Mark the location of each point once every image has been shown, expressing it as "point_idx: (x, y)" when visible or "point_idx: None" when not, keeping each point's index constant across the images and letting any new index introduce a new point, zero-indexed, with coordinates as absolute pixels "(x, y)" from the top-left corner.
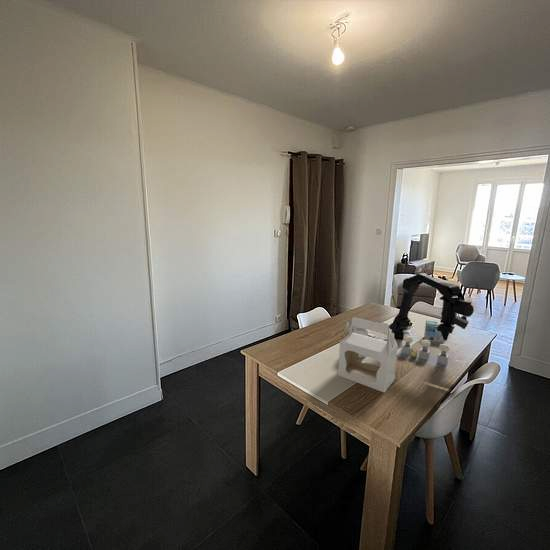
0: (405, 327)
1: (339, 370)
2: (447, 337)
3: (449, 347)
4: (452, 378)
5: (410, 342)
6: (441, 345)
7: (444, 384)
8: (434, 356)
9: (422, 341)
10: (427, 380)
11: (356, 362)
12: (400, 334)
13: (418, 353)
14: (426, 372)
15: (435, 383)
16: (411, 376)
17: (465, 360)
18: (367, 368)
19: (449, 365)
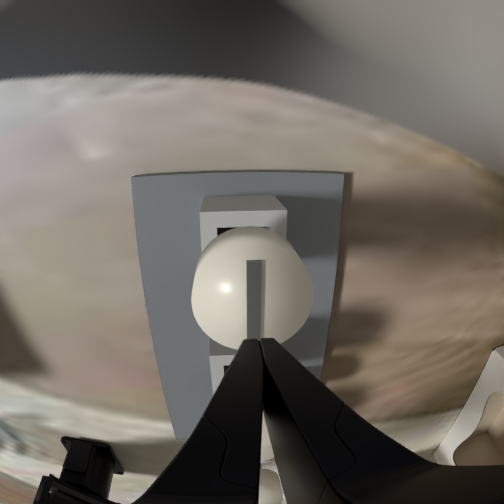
0: (69, 498)
1: (495, 439)
2: (313, 377)
3: (263, 242)
4: (409, 142)
5: (270, 470)
6: (264, 331)
7: (479, 181)
8: (170, 294)
9: (273, 453)
10: (475, 255)
11: (447, 453)
12: (92, 474)
13: (201, 377)
14: (409, 279)
15: (485, 219)
16: (464, 318)
17: (56, 104)
18: (460, 424)
19: (261, 175)
